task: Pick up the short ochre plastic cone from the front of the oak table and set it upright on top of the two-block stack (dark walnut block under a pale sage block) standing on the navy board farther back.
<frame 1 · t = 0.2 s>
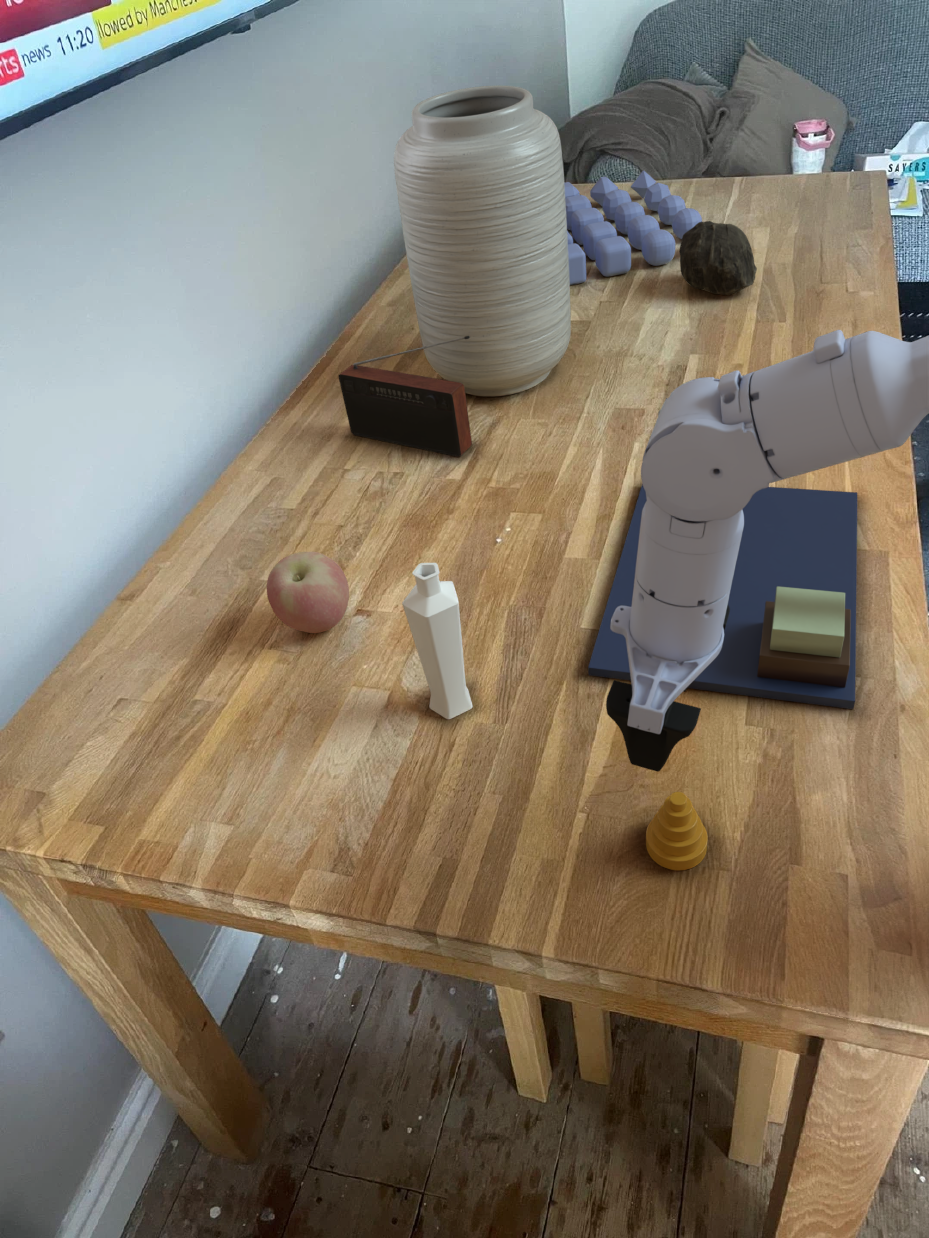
hand: (659, 723, 66), 10 cm above the table, tool pointing down, fingers open, 7 cm apart
perfume bottle: (453, 704, 83), on the table
apple: (318, 626, 93), on the table
board: (732, 581, 91), on the table
radio: (416, 444, 117), on the table
vase: (500, 373, 129), on the table
blocks: (587, 241, 161), on the table
cone: (676, 844, 69), on the table
rock: (715, 288, 141), on the table
block stack: (802, 653, 81), point 1 cm above the table, touching board
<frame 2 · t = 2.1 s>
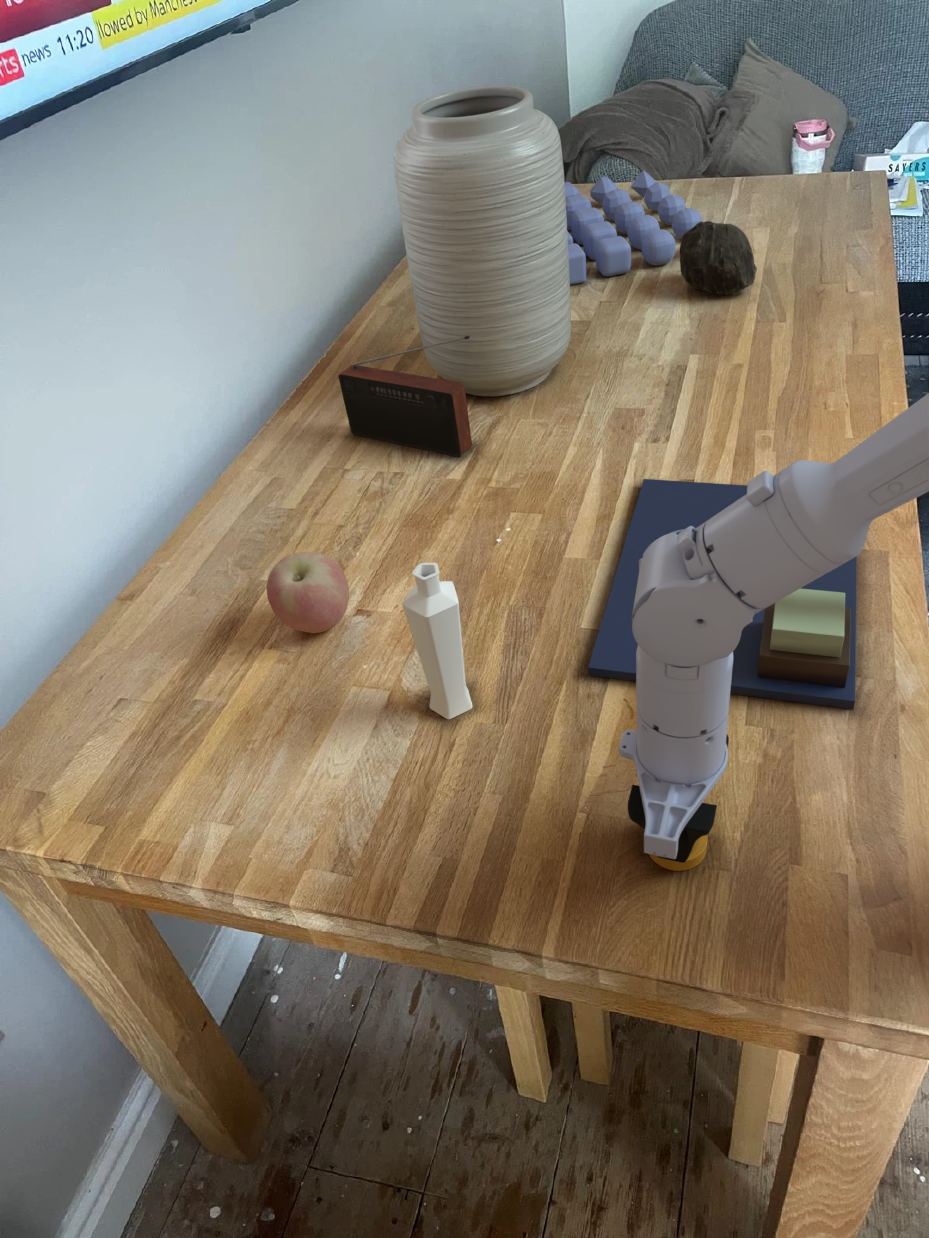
hand: (676, 831, 68), 2 cm above the table, tool pointing down, fingers closed on cone, 3 cm apart
cone: (676, 845, 69), on the table, touching gripper
everything else where it was.
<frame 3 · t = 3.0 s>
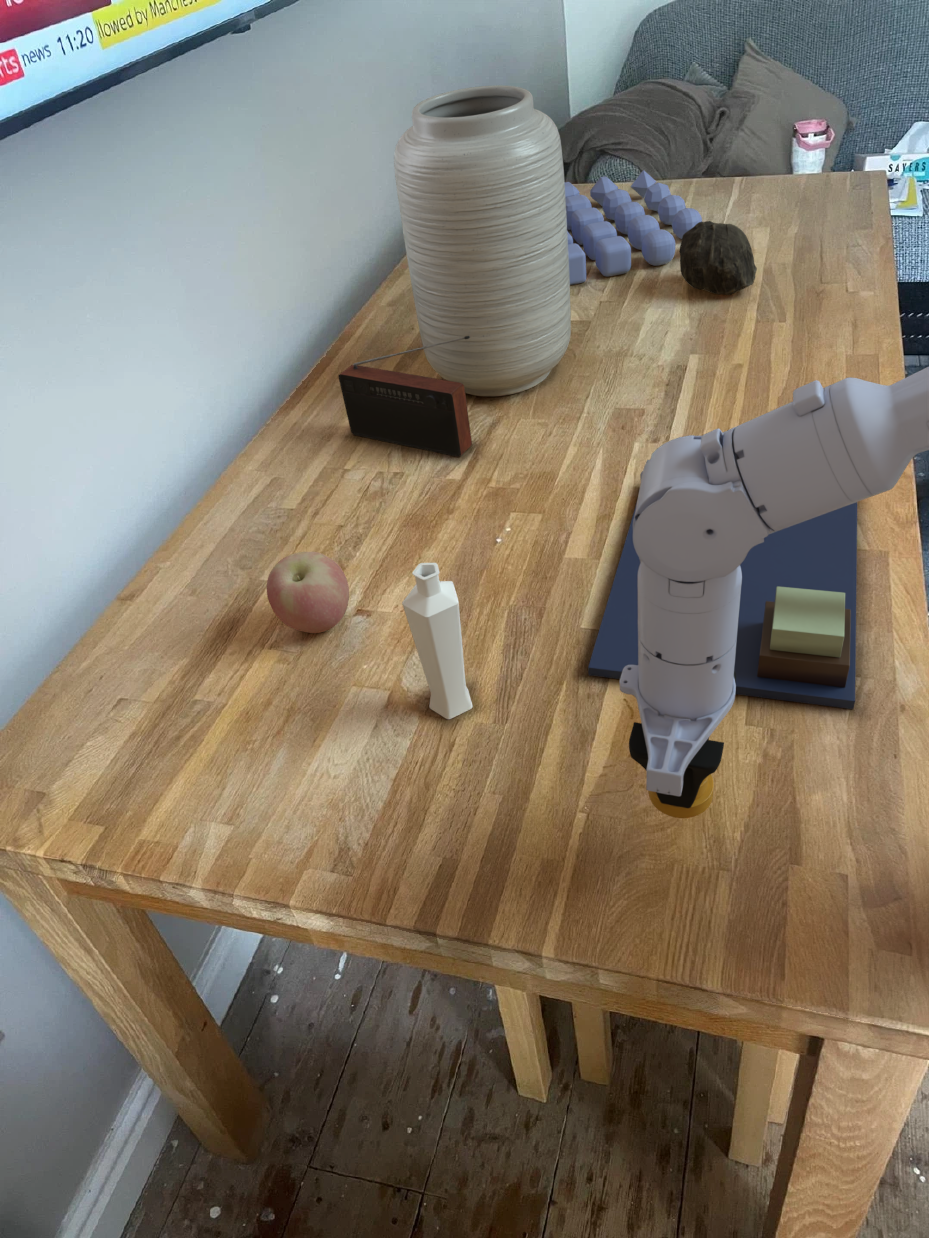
hand: (681, 777, 64), 8 cm above the table, tool pointing down, fingers closed on cone, 3 cm apart
cone: (680, 792, 65), point 6 cm above the table, touching gripper
everything else where it was.
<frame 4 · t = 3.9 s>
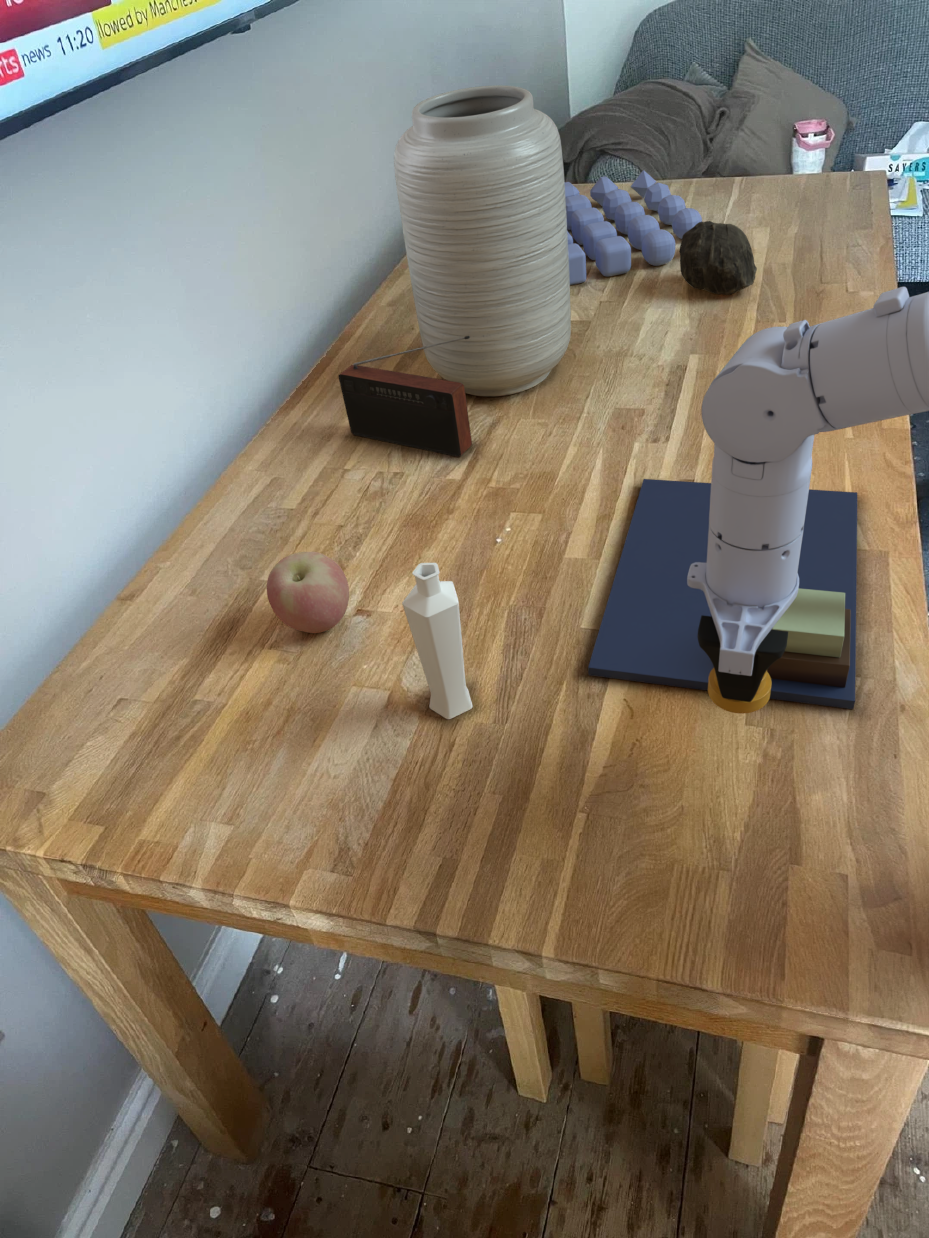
hand: (740, 675, 68), 10 cm above the table, tool pointing down, fingers closed on cone, 3 cm apart
cone: (738, 691, 69), point 8 cm above the table, touching gripper
everything else where it was.
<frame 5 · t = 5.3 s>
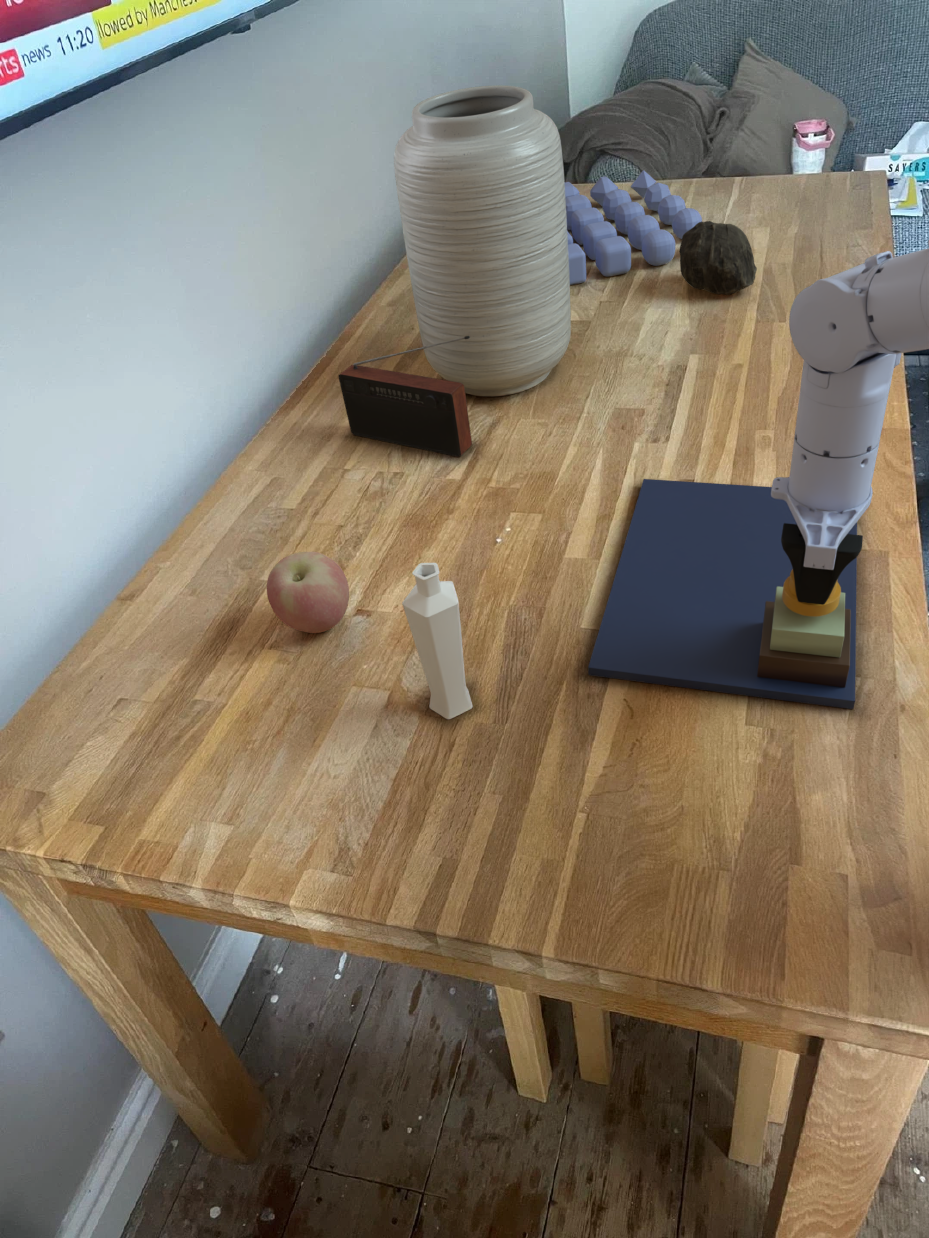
hand: (813, 583, 76), 9 cm above the table, tool pointing down, fingers closed on cone, 3 cm apart
cone: (810, 598, 77), point 7 cm above the table, touching gripper
everything else where it was.
when the fingers open (8 cm above the table, at t = 6.1 s): cone stays where it is, resting on block stack.
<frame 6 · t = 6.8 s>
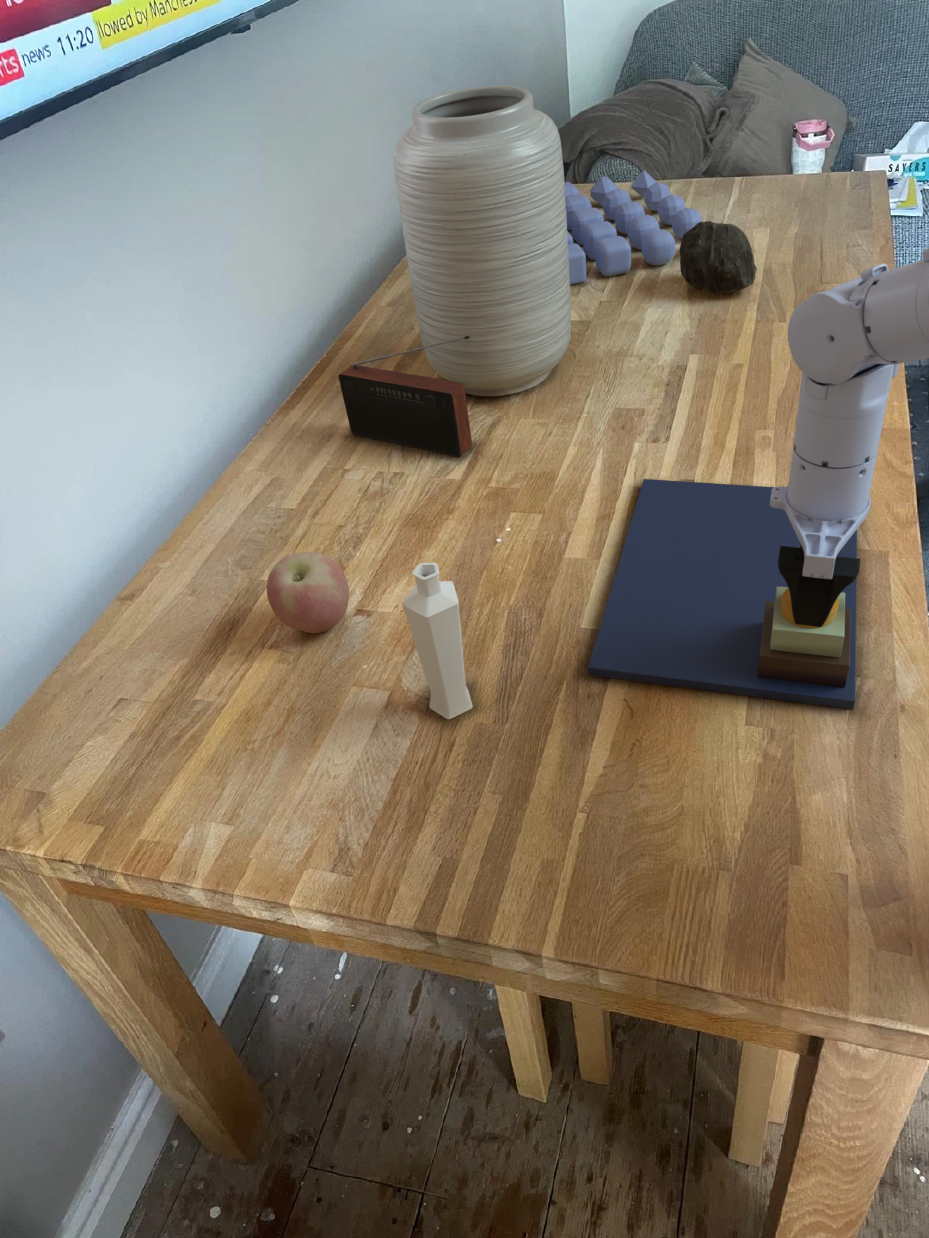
hand: (812, 591, 76), 8 cm above the table, tool pointing down, fingers open, 7 cm apart
cone: (808, 610, 78), point 6 cm above the table, touching block stack
block stack: (802, 653, 81), point 1 cm above the table, touching board, cone
everything else where it was.
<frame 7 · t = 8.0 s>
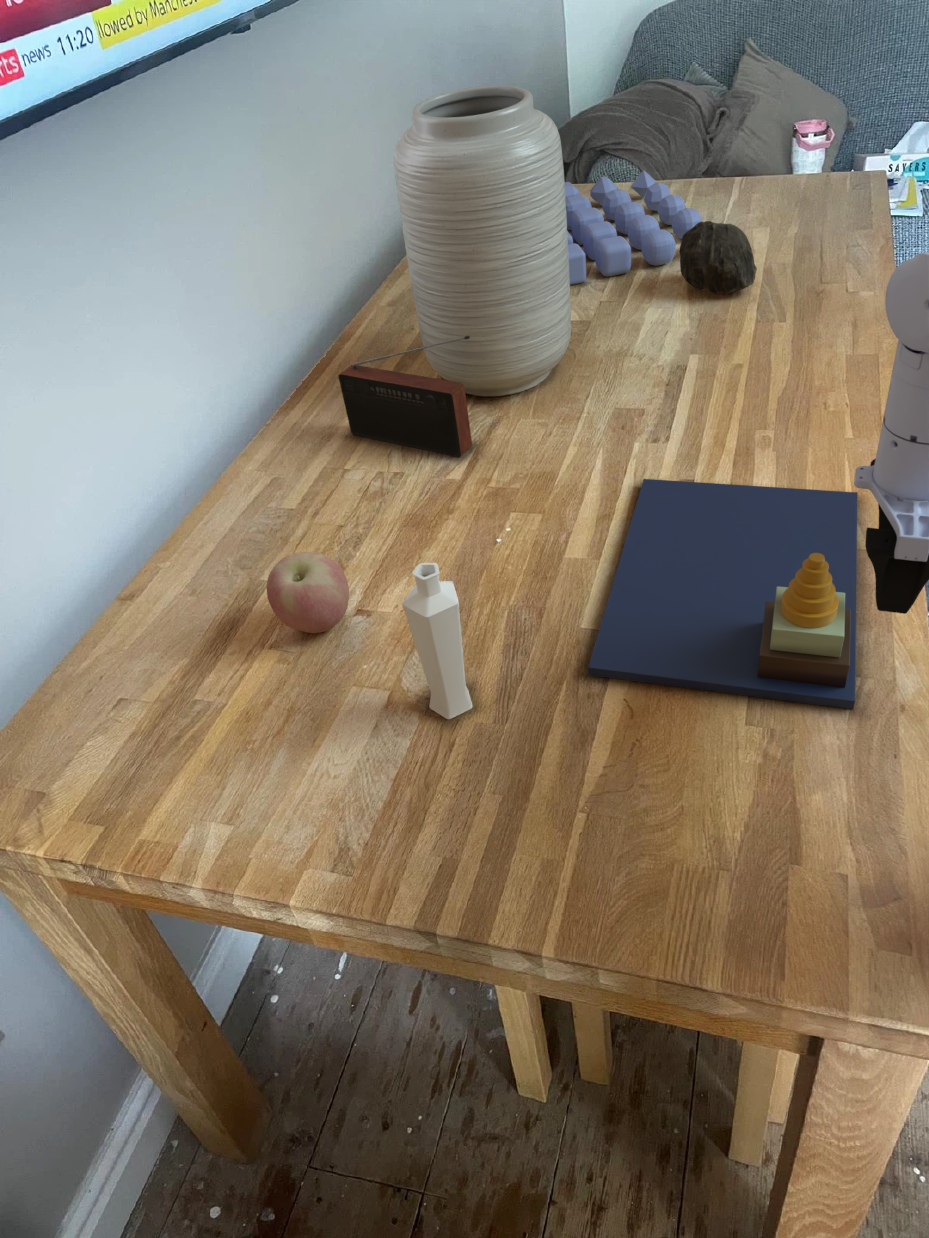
hand: (892, 577, 73), 10 cm above the table, tool pointing down, fingers open, 7 cm apart
nothing on the table moved.
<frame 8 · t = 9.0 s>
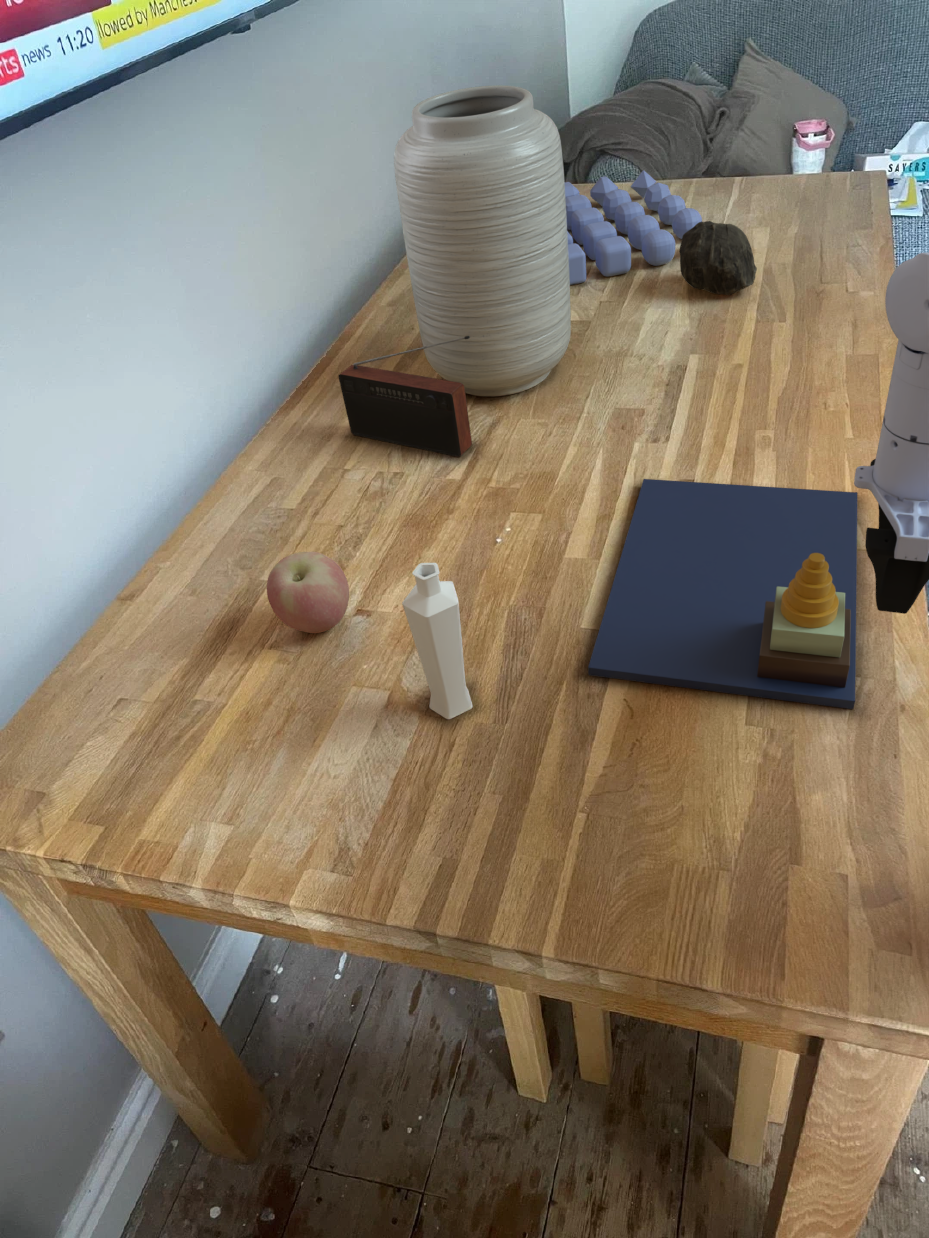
hand: (892, 577, 73), 10 cm above the table, tool pointing down, fingers open, 7 cm apart
nothing on the table moved.
at the end: cone 0.1 cm off-centre on the block stack, point 5.0 cm above the block stack's base; cone tilted 0°; block stack touching board, cone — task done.
